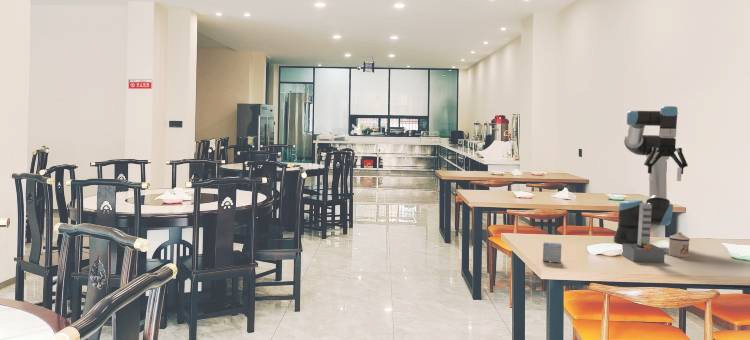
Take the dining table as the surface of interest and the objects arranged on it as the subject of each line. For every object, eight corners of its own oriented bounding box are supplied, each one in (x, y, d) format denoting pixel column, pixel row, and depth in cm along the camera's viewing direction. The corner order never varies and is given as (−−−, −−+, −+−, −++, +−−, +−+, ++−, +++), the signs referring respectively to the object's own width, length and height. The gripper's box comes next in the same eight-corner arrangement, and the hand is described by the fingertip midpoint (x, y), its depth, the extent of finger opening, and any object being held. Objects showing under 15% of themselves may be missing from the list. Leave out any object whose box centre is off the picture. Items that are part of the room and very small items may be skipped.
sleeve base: (622, 255, 287) (622, 240, 287) (651, 256, 287) (652, 240, 286) (633, 261, 273) (634, 245, 273) (664, 262, 273) (665, 246, 272)
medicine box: (560, 261, 271) (561, 243, 270) (560, 263, 266) (561, 244, 266) (543, 259, 273) (543, 241, 272) (542, 261, 269) (543, 243, 268)
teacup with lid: (683, 258, 284) (684, 234, 283) (664, 254, 291) (665, 231, 290) (694, 255, 291) (696, 232, 290) (676, 252, 298) (677, 229, 298)
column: (637, 244, 282) (639, 203, 280) (645, 244, 281) (648, 203, 280) (641, 246, 277) (643, 204, 275) (650, 246, 277) (652, 204, 275)
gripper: (645, 137, 287) (642, 180, 288) (697, 138, 286) (694, 181, 288) (638, 136, 294) (636, 179, 296) (689, 138, 293) (686, 180, 295)
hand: (664, 180), depth 292 cm, fingers open, 13 cm apart
